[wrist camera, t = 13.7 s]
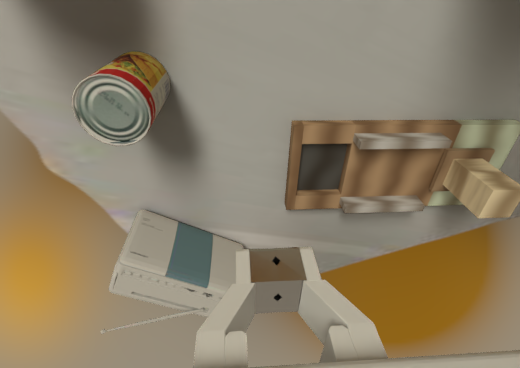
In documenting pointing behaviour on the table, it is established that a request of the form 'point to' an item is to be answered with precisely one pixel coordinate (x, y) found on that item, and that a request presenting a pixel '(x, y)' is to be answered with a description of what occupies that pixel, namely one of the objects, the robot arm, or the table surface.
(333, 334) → the robot arm
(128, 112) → the canned food
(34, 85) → the table surface
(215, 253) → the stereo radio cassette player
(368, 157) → the track
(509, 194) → the wood block
